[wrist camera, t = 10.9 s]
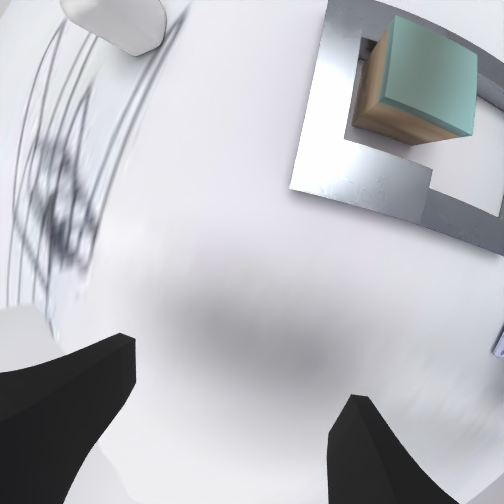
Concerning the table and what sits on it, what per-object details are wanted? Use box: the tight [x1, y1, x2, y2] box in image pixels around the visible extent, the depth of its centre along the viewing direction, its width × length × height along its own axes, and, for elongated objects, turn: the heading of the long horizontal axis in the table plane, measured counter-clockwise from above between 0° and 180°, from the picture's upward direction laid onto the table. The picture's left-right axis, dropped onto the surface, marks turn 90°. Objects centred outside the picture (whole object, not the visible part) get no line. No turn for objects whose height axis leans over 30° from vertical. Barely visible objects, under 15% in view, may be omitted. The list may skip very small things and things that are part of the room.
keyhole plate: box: [290, 0, 504, 256], centre depth 13 cm, size 16×12×3 cm
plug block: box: [351, 15, 477, 146], centre depth 11 cm, size 4×4×7 cm
